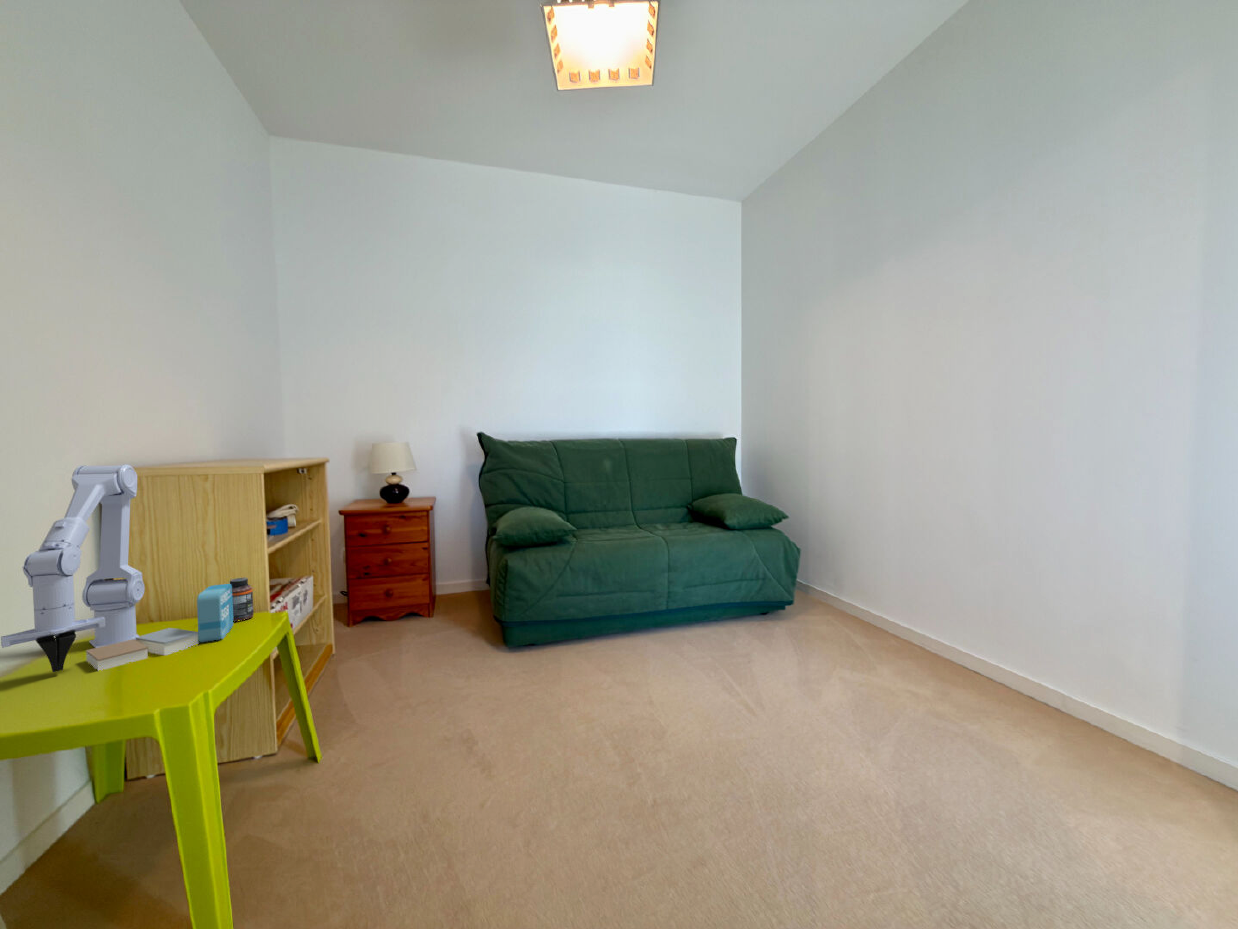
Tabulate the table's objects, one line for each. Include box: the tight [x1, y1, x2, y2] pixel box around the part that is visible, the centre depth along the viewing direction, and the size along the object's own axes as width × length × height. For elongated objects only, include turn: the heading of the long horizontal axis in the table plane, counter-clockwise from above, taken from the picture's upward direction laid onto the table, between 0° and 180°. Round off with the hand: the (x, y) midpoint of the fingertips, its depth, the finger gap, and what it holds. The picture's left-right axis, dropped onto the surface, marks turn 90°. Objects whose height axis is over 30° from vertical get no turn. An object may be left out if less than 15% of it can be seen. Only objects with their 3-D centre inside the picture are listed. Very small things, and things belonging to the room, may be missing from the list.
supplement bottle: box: [229, 577, 254, 621], centre depth 142 cm, size 6×6×11 cm
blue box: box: [196, 583, 234, 643], centre depth 129 cm, size 12×4×12 cm, turn 26°
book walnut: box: [85, 639, 149, 672], centre depth 114 cm, size 10×8×3 cm
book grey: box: [135, 627, 200, 656], centre depth 121 cm, size 11×7×3 cm, turn 70°
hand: (57, 670), depth 107 cm, fingers closed
